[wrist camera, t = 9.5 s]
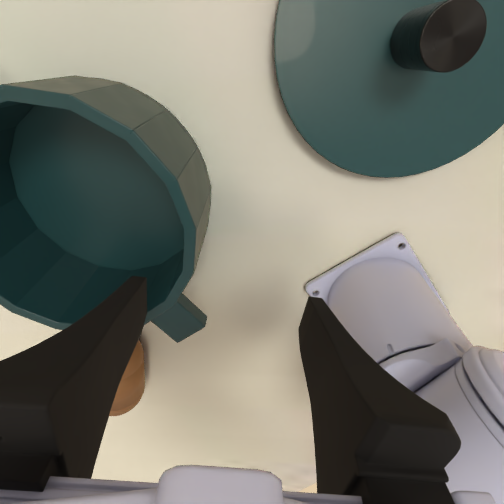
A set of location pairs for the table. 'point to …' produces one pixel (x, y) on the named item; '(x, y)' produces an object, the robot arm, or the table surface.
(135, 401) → the brown cylinder
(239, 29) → the table surface
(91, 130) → the pot
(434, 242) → the table surface
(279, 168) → the table surface
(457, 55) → the pot lid
